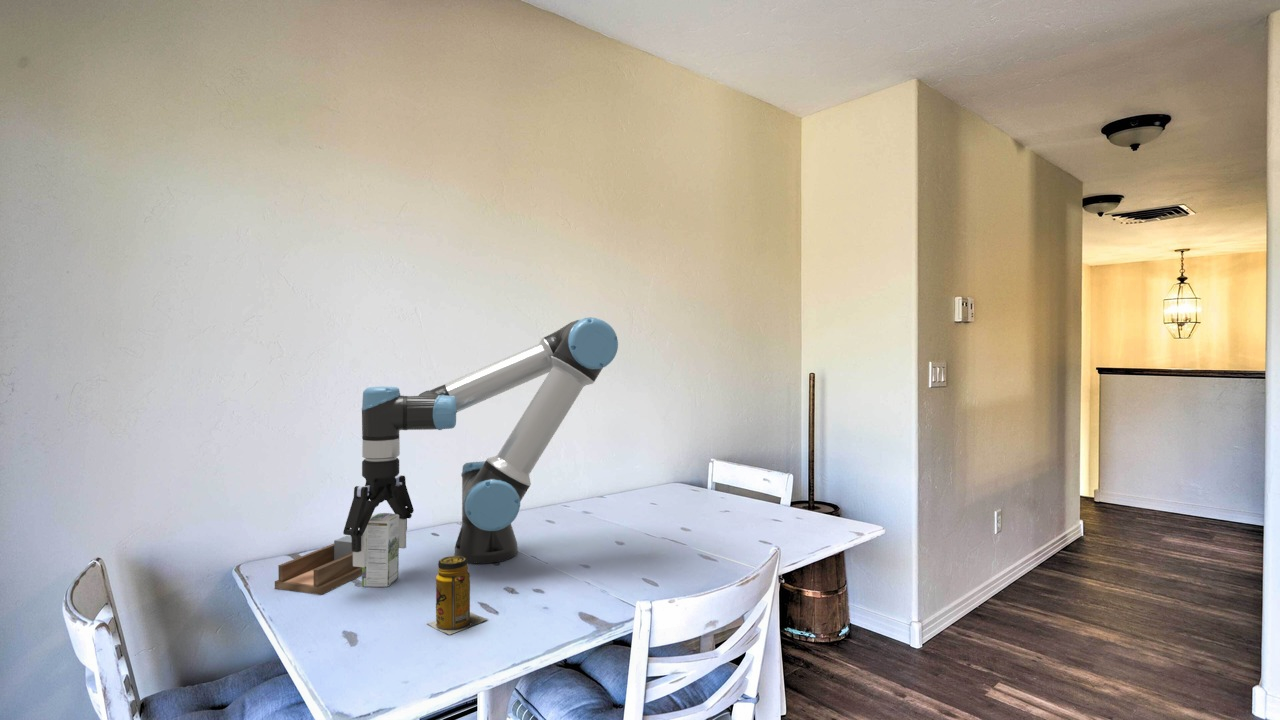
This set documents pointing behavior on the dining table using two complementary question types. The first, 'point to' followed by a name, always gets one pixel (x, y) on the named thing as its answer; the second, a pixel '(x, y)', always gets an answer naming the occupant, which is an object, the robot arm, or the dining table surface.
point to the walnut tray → (317, 572)
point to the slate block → (342, 547)
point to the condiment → (453, 596)
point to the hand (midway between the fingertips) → (380, 556)
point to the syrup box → (381, 550)
